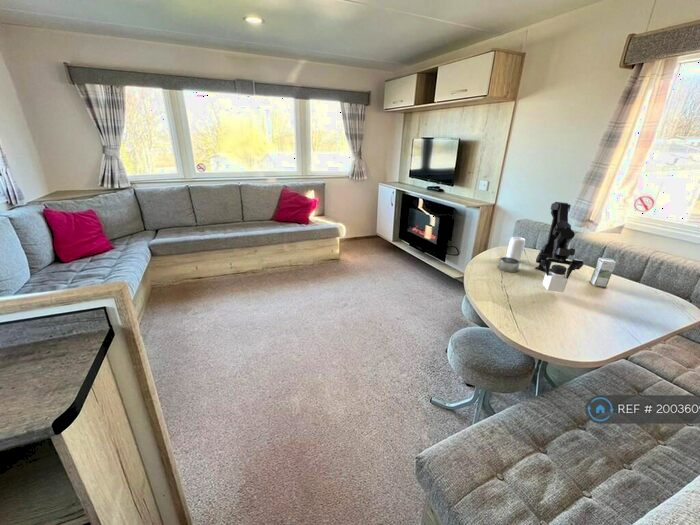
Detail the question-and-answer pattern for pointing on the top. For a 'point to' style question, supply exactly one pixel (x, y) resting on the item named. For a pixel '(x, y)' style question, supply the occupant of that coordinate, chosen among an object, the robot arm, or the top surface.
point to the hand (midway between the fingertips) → (557, 277)
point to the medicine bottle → (556, 279)
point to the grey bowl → (508, 264)
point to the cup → (516, 248)
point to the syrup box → (602, 272)
